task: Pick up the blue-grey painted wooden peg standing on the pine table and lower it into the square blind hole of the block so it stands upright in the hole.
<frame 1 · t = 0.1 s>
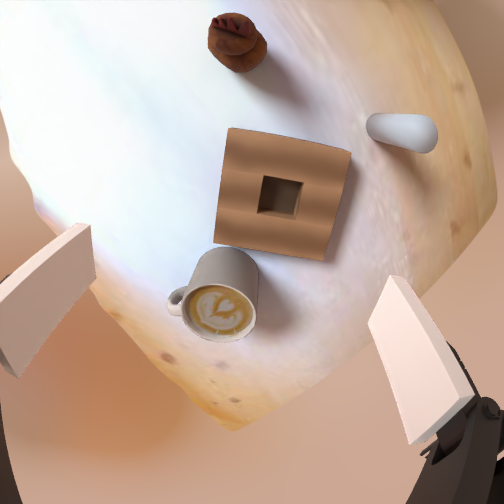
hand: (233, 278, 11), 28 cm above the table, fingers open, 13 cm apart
bore block: (278, 190, 38), on the table
wooden figurine: (241, 54, 29), on the table
peg: (379, 127, 33), on the table
coffee mug: (216, 274, 44), on the table
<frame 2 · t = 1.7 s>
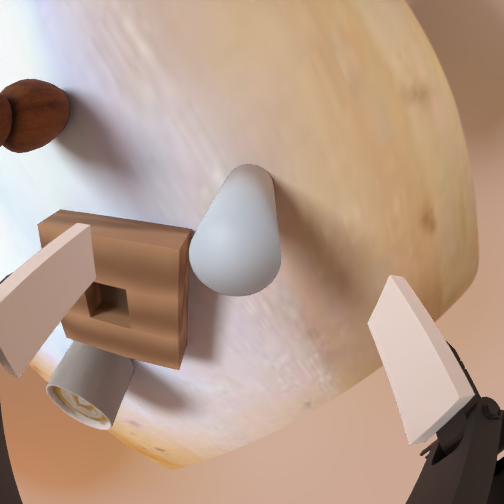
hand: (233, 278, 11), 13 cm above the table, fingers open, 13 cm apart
bore block: (122, 282, 28), on the table
wooden figurine: (57, 110, 19), on the table
peg: (249, 187, 23), on the table
coffee mug: (95, 353, 35), on the table
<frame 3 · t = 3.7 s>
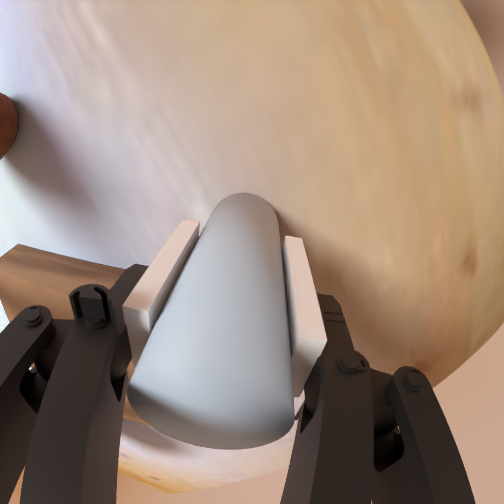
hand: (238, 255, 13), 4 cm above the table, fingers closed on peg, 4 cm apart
bore block: (93, 331, 21), on the table
wooden figurine: (7, 123, 13), on the table
peg: (244, 226, 16), on the table, touching gripper
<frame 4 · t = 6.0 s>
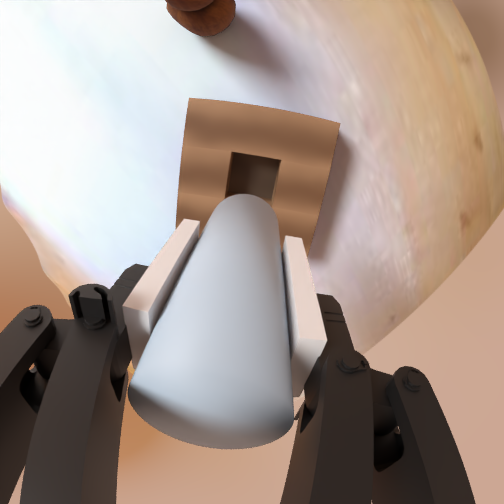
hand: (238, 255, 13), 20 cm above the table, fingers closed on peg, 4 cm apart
bore block: (253, 172, 31), on the table
wooden figurine: (210, 19, 23), on the table
peg: (243, 227, 16), point 17 cm above the table, touching gripper
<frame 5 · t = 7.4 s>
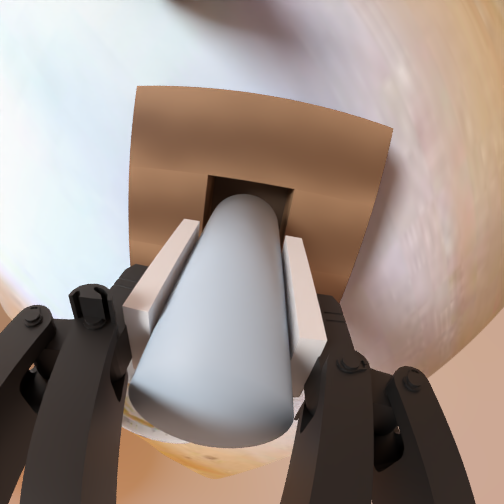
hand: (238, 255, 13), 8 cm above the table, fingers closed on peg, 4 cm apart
bore block: (248, 202, 20), on the table
peg: (243, 226, 16), point 4 cm above the table, touching gripper
coffee mug: (159, 332, 27), on the table
when the fingers open (6 cm above the table, at t = 8.6 s): peg drops 1 cm, resting on bore block.
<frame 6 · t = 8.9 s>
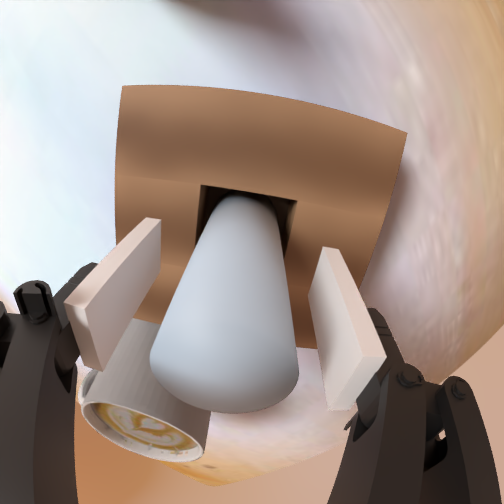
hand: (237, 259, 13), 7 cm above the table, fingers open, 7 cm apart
bore block: (246, 212, 19), on the table
peg: (244, 218, 18), point 1 cm above the table, touching bore block
coffee mug: (154, 346, 25), on the table
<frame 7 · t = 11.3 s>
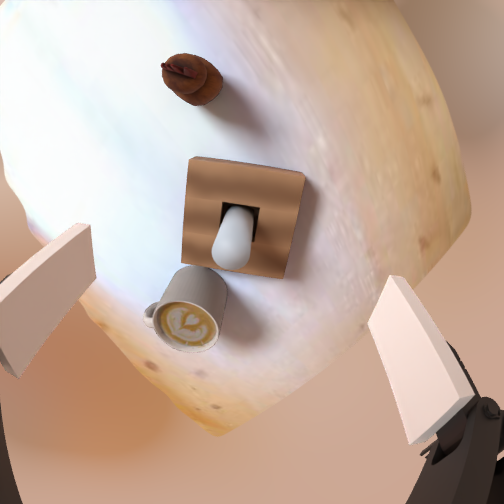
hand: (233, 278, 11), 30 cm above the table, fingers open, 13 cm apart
bore block: (241, 213, 41), on the table
wooden figurine: (203, 85, 33), on the table
peg: (239, 215, 40), point 1 cm above the table, touching bore block
coffee mug: (189, 290, 47), on the table
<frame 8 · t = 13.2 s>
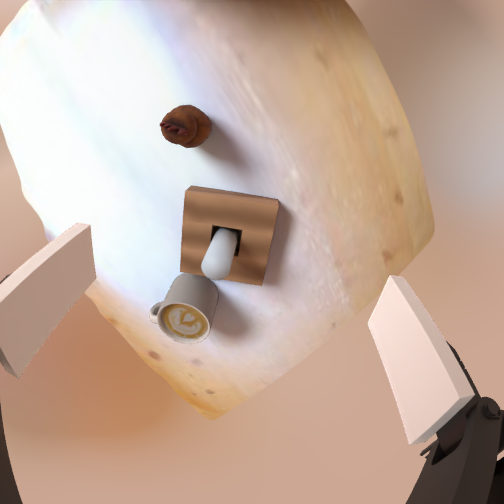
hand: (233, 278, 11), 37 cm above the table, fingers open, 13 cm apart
bore block: (228, 231, 50), on the table
wooden figurine: (195, 125, 42), on the table
peg: (227, 234, 49), point 1 cm above the table, touching bore block
coffee mug: (186, 292, 57), on the table
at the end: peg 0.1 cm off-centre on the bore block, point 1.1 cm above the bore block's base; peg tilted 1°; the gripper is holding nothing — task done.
